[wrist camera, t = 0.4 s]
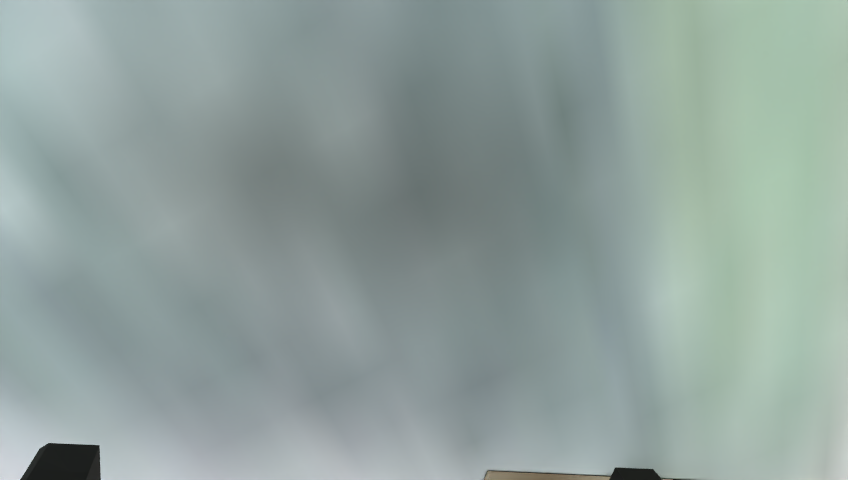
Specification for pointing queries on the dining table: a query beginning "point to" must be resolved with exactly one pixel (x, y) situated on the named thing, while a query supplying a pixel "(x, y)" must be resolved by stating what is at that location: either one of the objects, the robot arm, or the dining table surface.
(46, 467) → the robot arm
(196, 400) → the dining table surface
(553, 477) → the rail
